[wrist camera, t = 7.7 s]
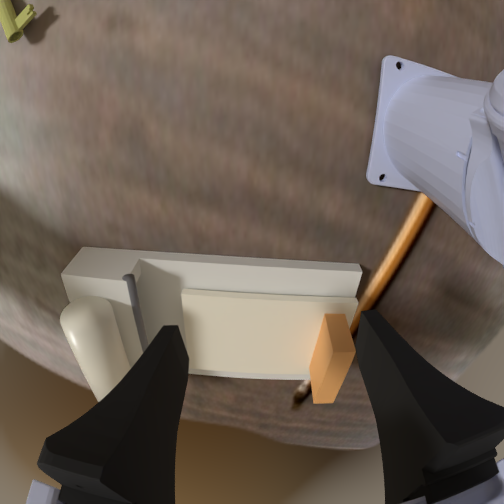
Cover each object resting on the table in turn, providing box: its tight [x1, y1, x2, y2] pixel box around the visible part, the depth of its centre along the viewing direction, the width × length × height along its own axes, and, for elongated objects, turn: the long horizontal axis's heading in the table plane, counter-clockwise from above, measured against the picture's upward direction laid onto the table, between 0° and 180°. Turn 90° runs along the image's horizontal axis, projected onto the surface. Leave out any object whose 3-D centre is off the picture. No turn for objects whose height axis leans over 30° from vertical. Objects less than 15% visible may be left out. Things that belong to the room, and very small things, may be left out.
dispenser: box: [60, 247, 362, 402], centre depth 21 cm, size 20×12×7 cm, turn 86°
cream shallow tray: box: [181, 289, 358, 403], centre depth 21 cm, size 12×8×4 cm, turn 86°
